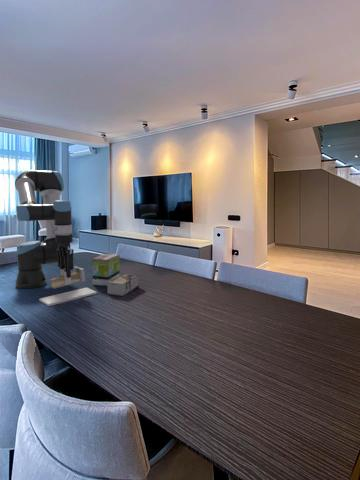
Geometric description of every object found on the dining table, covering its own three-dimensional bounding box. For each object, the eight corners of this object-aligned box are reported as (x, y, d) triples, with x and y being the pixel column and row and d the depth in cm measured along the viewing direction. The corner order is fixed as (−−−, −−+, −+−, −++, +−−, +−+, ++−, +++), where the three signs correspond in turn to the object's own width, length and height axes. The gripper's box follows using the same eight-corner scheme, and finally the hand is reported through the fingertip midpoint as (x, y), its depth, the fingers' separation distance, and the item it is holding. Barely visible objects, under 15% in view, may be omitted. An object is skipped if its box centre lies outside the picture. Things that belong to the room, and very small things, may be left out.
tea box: (109, 286, 163) (108, 259, 160) (92, 285, 165) (91, 258, 162) (120, 278, 177) (119, 253, 175) (104, 277, 179) (103, 253, 177)
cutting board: (39, 300, 140) (39, 298, 140) (86, 289, 157) (86, 287, 157) (48, 306, 133) (48, 304, 133) (96, 293, 150) (96, 291, 150)
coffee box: (122, 296, 146) (139, 287, 161) (122, 283, 145) (139, 275, 160) (107, 294, 150) (125, 285, 164) (106, 281, 149) (124, 273, 163)
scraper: (49, 286, 141) (47, 274, 140) (77, 277, 151) (75, 266, 150) (56, 290, 136) (54, 277, 135) (85, 280, 146) (83, 268, 144)
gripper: (48, 233, 143) (51, 281, 146) (63, 236, 132) (66, 288, 135) (63, 231, 148) (66, 278, 151) (79, 234, 137) (82, 285, 140)
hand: (66, 283), depth 143 cm, fingers closed on scraper, 3 cm apart
